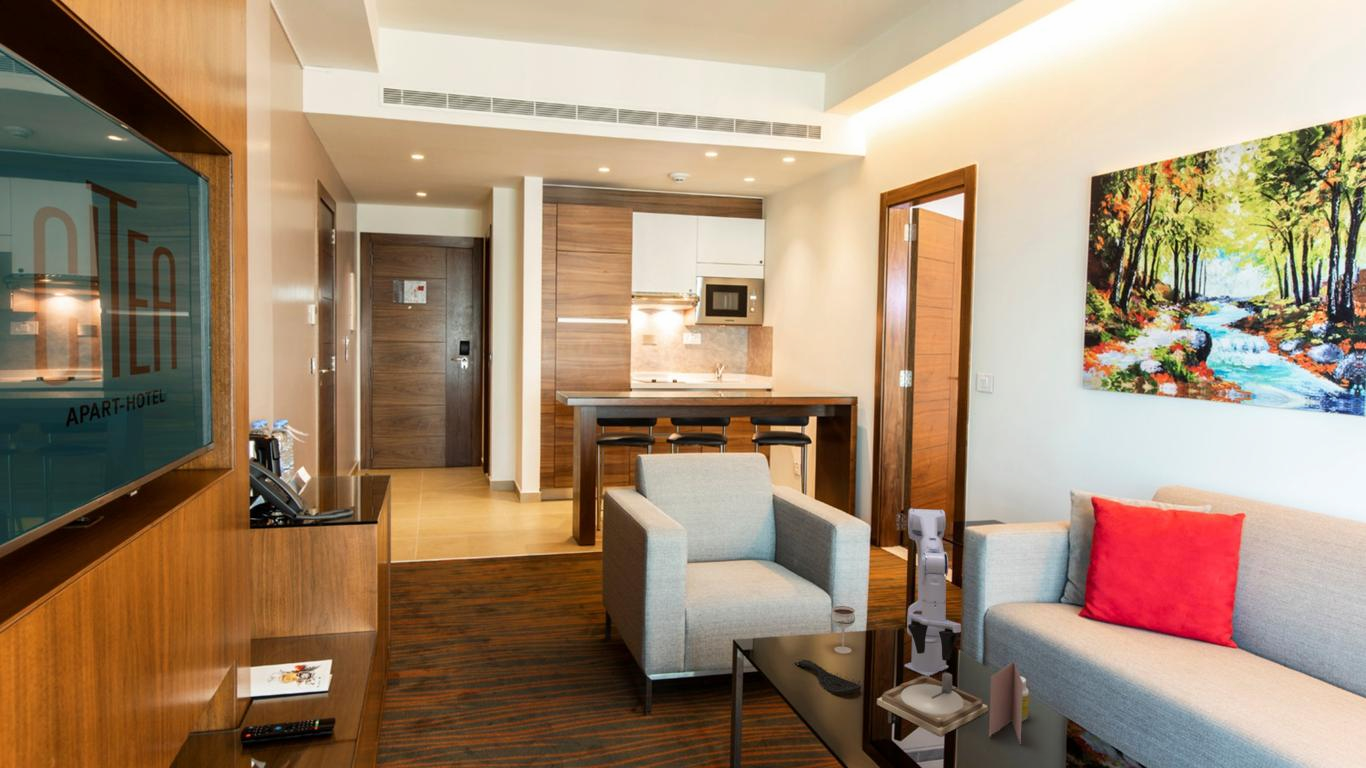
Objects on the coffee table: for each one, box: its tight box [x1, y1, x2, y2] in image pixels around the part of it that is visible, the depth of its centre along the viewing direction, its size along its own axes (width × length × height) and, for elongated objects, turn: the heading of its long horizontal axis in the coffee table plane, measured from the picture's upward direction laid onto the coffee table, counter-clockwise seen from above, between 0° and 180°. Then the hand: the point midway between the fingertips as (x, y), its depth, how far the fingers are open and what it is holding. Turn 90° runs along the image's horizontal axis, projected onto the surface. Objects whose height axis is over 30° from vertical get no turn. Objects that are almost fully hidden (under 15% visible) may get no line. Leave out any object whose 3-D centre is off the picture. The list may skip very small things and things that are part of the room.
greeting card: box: [988, 661, 1023, 745], centre depth 195 cm, size 11×7×15 cm, turn 133°
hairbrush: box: [797, 659, 862, 695], centre depth 224 cm, size 8×4×25 cm
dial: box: [901, 672, 964, 717], centre depth 208 cm, size 15×15×5 cm
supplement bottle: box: [1020, 675, 1030, 720], centre depth 204 cm, size 5×5×10 cm
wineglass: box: [831, 605, 856, 654], centre depth 242 cm, size 7×7×12 cm
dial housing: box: [876, 675, 989, 737], centre depth 208 cm, size 19×19×3 cm
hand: (933, 656), depth 207 cm, fingers open, 7 cm apart
